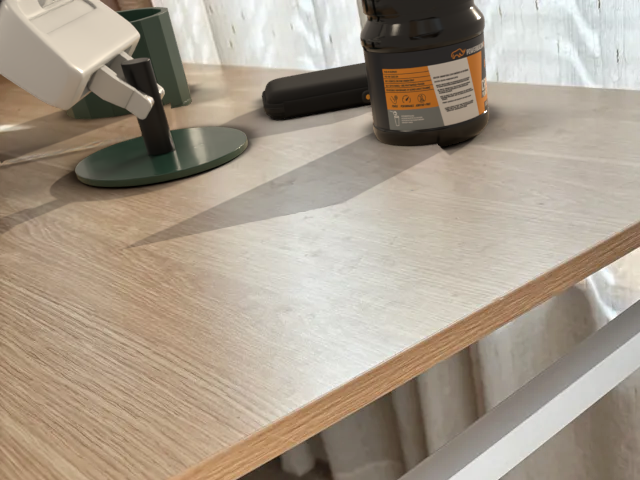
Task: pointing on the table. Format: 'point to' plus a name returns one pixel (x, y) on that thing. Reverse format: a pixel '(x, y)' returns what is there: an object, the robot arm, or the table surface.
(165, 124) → the lid
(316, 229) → the table surface
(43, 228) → the table surface
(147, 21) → the tin
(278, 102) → the carrying case
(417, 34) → the supplement container
